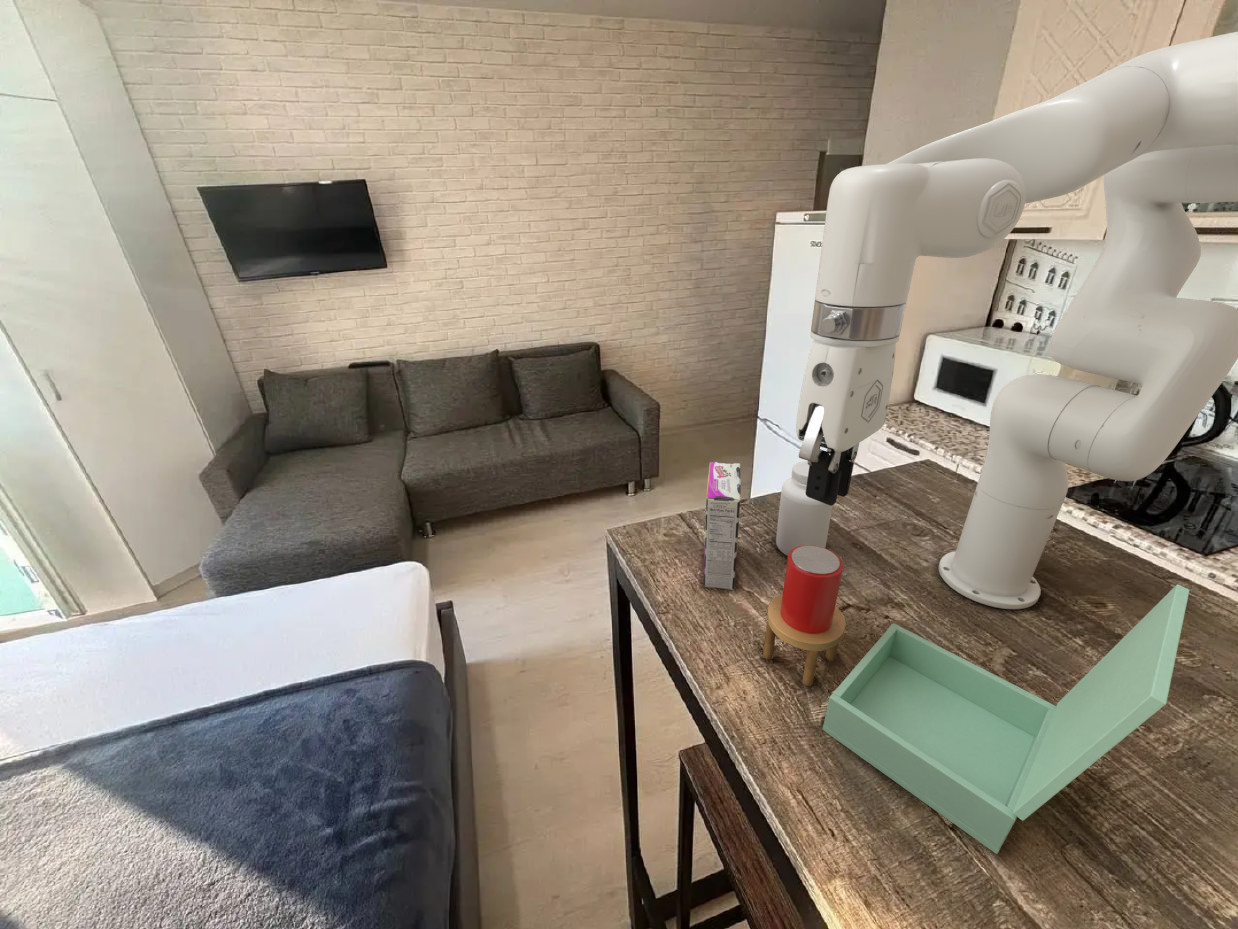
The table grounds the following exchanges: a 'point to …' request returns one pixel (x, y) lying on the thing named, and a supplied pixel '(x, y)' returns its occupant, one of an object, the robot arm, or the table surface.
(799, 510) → the pill bottle
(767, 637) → the stool
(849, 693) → the box
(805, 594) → the soda can
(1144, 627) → the lid
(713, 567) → the candy bar box
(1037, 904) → the table surface
